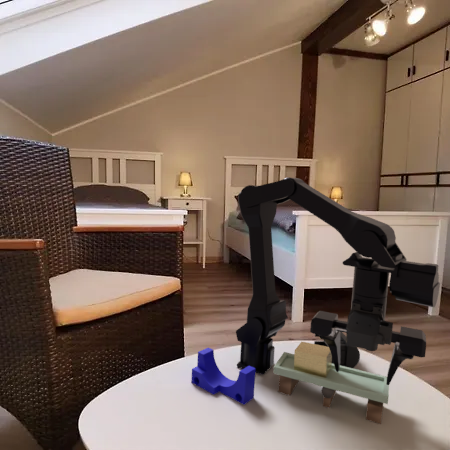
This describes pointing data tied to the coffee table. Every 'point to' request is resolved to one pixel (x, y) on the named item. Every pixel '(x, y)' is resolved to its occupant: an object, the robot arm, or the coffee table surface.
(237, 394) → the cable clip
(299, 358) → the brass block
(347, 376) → the green rimmed tray
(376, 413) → the beam stand
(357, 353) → the end cap
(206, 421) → the coffee table surface
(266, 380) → the coffee table surface
